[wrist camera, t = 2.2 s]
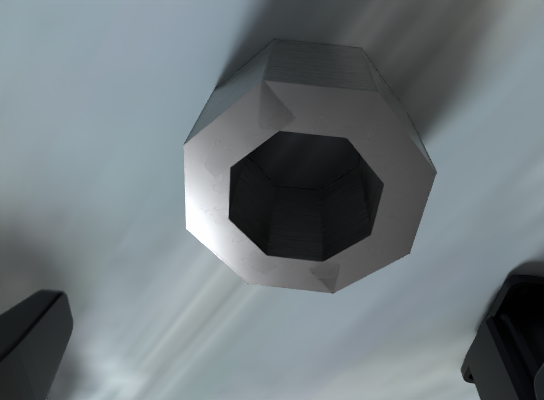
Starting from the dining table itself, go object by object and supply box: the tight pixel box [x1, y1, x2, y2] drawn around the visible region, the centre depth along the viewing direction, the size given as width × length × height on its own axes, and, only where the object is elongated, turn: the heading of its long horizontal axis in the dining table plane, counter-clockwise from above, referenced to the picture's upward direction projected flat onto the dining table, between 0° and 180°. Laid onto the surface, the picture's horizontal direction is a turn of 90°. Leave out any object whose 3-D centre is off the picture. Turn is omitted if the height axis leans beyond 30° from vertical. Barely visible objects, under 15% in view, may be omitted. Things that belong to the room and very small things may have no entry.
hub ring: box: [183, 39, 437, 294], centre depth 13 cm, size 6×6×4 cm
